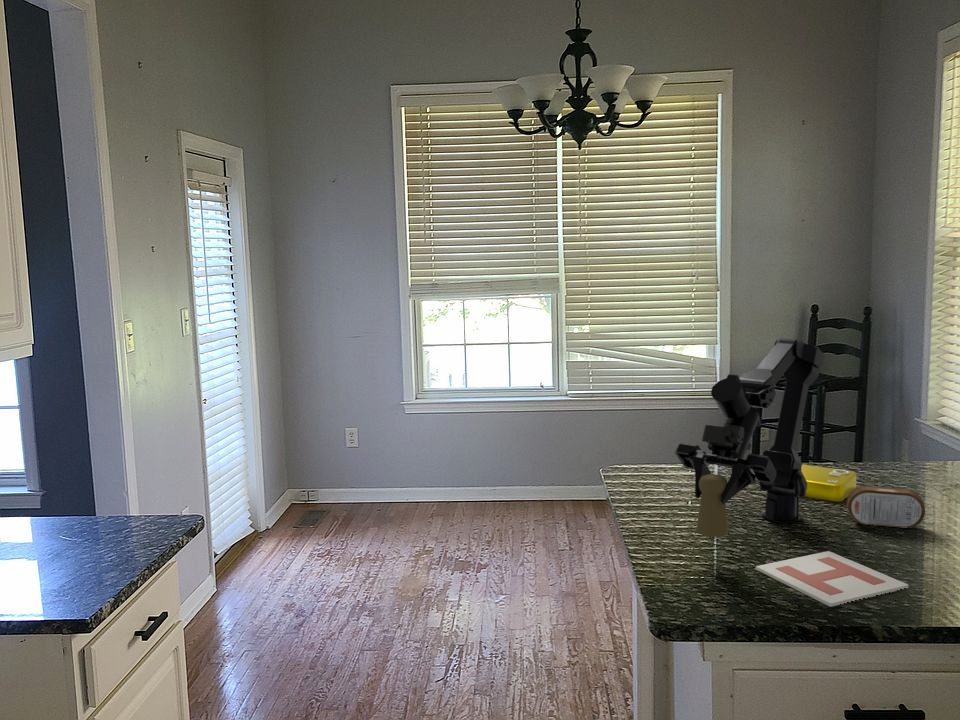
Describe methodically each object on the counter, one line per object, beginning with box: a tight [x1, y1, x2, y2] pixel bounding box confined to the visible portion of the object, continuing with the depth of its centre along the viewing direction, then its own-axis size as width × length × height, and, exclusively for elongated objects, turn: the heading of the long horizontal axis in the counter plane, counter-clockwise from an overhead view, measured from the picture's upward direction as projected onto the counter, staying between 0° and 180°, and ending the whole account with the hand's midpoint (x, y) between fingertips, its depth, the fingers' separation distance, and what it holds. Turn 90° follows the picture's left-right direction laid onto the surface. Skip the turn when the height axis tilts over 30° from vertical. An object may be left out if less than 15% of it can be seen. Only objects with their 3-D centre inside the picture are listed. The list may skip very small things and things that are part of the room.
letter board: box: [755, 550, 909, 608], centre depth 149 cm, size 18×18×1 cm
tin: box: [846, 485, 926, 529], centre depth 175 cm, size 15×3×8 cm, turn 71°
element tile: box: [801, 464, 858, 502], centre depth 203 cm, size 15×15×5 cm
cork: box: [695, 473, 730, 538], centre depth 156 cm, size 6×6×11 cm
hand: (709, 499), depth 155 cm, fingers closed on cork, 5 cm apart
